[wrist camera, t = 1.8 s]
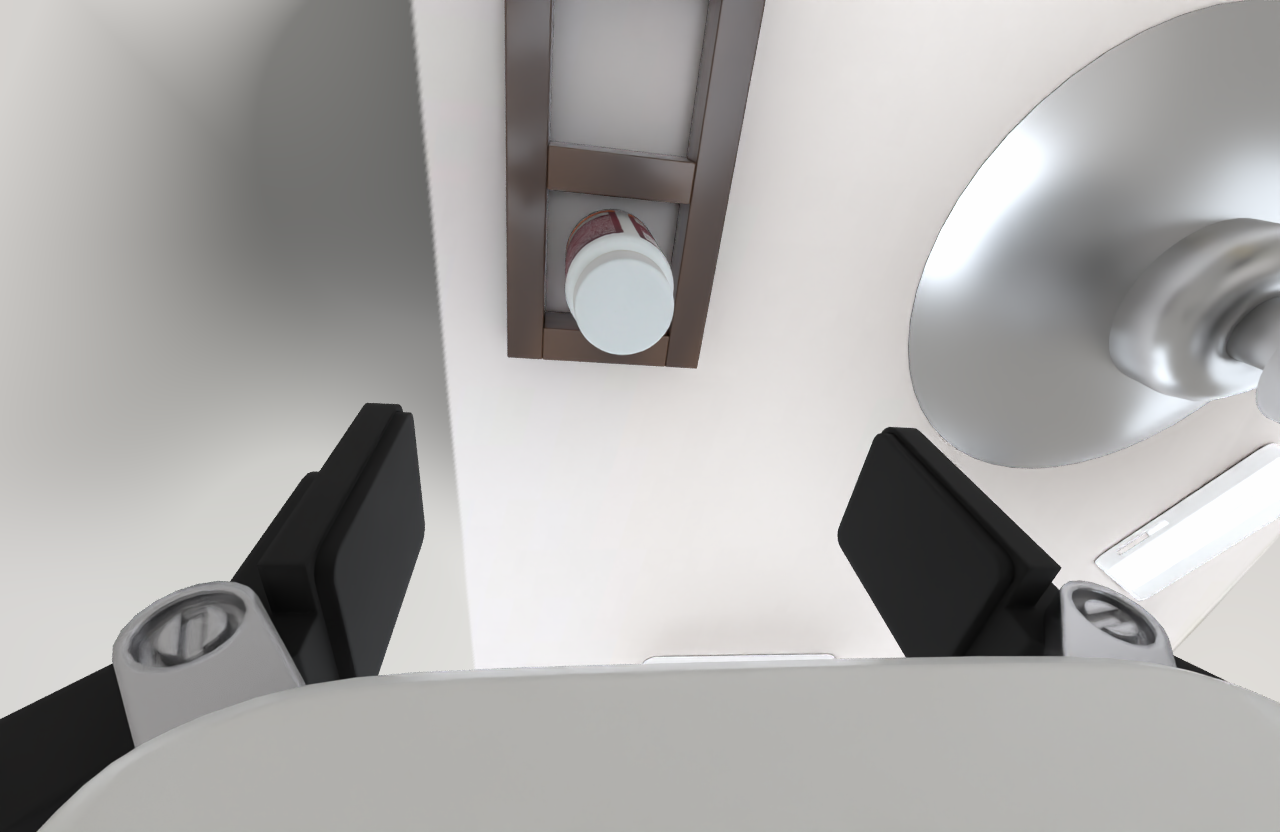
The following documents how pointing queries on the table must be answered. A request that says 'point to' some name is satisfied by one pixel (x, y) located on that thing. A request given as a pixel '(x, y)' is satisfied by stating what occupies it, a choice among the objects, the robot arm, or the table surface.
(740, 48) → the rack
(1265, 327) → the silver goblet
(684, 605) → the table surface
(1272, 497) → the phone case
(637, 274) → the pill bottle
